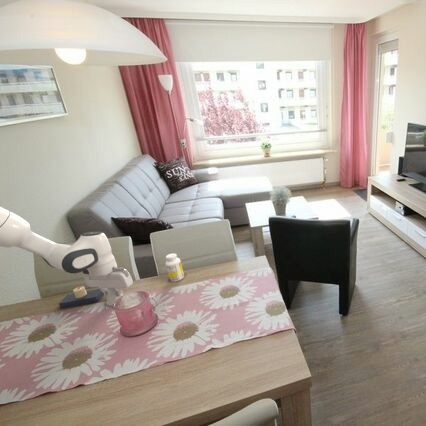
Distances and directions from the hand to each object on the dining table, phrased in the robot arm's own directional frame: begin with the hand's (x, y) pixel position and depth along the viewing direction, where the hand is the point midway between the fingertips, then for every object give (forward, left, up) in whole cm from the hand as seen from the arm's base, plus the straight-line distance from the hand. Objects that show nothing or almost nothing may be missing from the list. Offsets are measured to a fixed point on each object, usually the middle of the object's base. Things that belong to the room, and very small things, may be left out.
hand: (114, 294), depth 128 cm
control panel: (-16, -1, -3) cm, 16 cm away
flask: (0, 0, -4) cm, 4 cm away
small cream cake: (-16, -1, 0) cm, 16 cm away
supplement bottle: (+17, +19, -4) cm, 26 cm away
